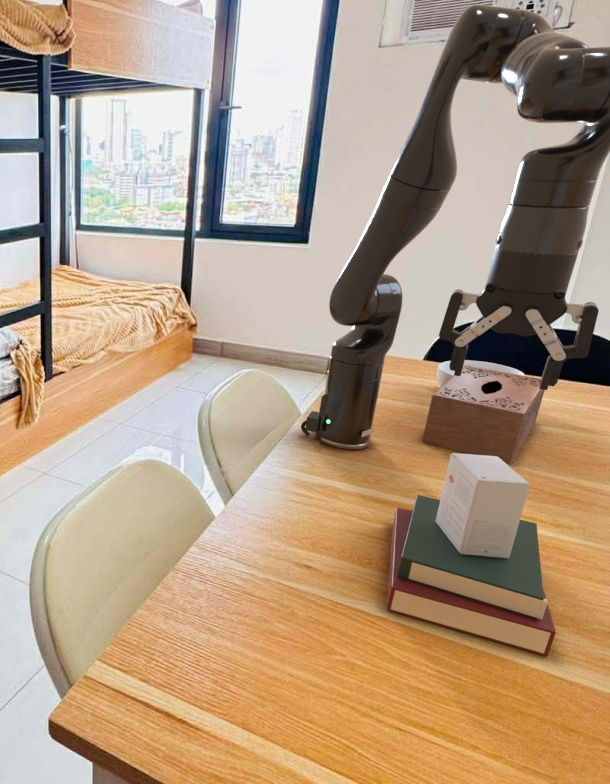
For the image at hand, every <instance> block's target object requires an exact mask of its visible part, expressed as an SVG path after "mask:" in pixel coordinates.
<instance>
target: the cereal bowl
mask: <svg viewBox="0 0 610 784" xmlns="http://www.w3.org/2000/svg"><path fill="white" fill-rule="evenodd" d="M450 362H451V360H447V361H443V362H441V363H439V364H438V367H437V370H436V379H437V383H438V384H439V387H440V388H441V387H442V386H443V385H444V384H445V383H446V382H447V381H449V380H450V379H451V378H452V377H453V376H454V373H455V371H452V370H450V367H449V366H450ZM465 365H466V366H471V367H477V368H483V369H488V370H494V371H500V372H505V373H511V374H517V375H522V376H526V374H525V373H524V372H523V371H521V370H519V369H517V368H514V367H511V366H508V365H507V366H506V365H503V364H498V363H495V362H488V361H480V360H471V359H470V360H469V359H465V361H464V365H463V367H464V366H465Z"/></svg>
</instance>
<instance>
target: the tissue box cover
mask: <svg viewBox="0 0 610 784" xmlns="http://www.w3.org/2000/svg"><path fill="white" fill-rule="evenodd" d="M540 381H541V378H538V377H533V376H527V375H525V376H522V375H517V374H511V373H505V372H500V371H494V370H488V369H483V368H477V367H471V366H466V365H465V366H464V367H463V369H462V373H461V376H455V375H454V376H453V377H452V378H451V379H450V380H449V381H447V382H446V383H445V384H444V385H443V386H442V387H441V386H440V387H439V388H438V389H437V390H436V391H435V392H434V393H433V394H432V395H431V400H430V405H429V409H428V413H427V418H426V422H425V426H424V431H423V435H422V440H421V443H426V444H428V445H429V444H430V445H433V446H437V447H440V448H444V449H449V450H452V451H457V452H460V453H463V454H472V455H486V456H497V457H499V458H500V459H501V460H502V461H504V462H505V463H506V464H507V465H511V464H512V463H513V461H514V459H515V458H516V456H517V454H518V453H519V451H520V449H521V448H522V446H523V444H524V443H525V441H526V440H527V438H528V436H529V435H530V433H531V431H532V430H533V428H534V426H535V424H536V421H537V418H538V415H539V412H540V407H541V404H542V401H543V397H544V394H545V391H546V390H542V389H539V385H540Z"/></svg>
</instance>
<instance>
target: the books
mask: <svg viewBox="0 0 610 784" xmlns="http://www.w3.org/2000/svg"><path fill="white" fill-rule="evenodd" d="M440 500H441V499H436V498H433V497H429V496H426V495H425V496H424V495H421V494H416V497H415V501H414V505H413V509H412V510H411V509H407V508H402V507H398V506H397V507H396V508H395V512H394V518H393V522H392V530H391V540H390V541H391V543H390V555H389V571H388V583H387V584H388V585H387V598H386V599H387V600H386V611H389V612H392V613H396V614H399V615H403V616H406V617H409V618H413V619H415V620H416V619H417V620H421V621H423V622H427V623H430V624H433V625H437V626H441V627H444V628H447V629H451V630H454V631H458V632H460V633H461V632H462V633H464V634H468V635H472V636H475V637H478V638H482V639H486V640H489V641H493V642H496V643H499V644H503V645H506V646H510V647H513V648H516V649H520V650H523V651H527V652H529V653H532V654H533V653H534V654H537V655H541V656H544V657H549V653H550V650H551V647H552V645H553V642H554V639H555V637H556V634H557V631H556V627H555V624H554V621H553V617H552V613H551V611H550V608H549V607H550V606H549V604H548V603H549V600H548V599H547V596H546V593H545V590H544V587H543V575H542V567H541V564H542V563H541V555H540V546H539V533H538V526H537V525H538V524H537V523H536V522H532V521H529V520H524V519H520V522H519V525H518V529H517V532H516V536H515V539H514V543H513V547H512V550H511V554H510V557H509V558H498V557H487V556H476V555H465V554H460V553H459V551H458V550H457V549H456V548H455V546H454V545H453V544H452V543H451V541H450V540H449V539H448V537H447V536H446V535H445V533H444V532H443V531H442V529H441V528H440V527H439V526H438V524H437V523H436V517H437V512H438V508H439V504H440Z"/></svg>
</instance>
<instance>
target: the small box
mask: <svg viewBox="0 0 610 784" xmlns="http://www.w3.org/2000/svg"><path fill="white" fill-rule="evenodd" d="M448 461H449V462H448V465H447V470H446V474H445V477H444V482H443V488H442V491H441V496H440V499H439V500H440V504H439V508H438V512H437V517H436V523H437V524H438V526H439V527H440V528H441V529H442V531H443V532H444V533H445V535H446V536H447V537H448V539H449V540H450V541H451V543H452V544H453V545H454V546H455V548H456V549H457V550H458V551H459V553H460V554H465V555H476V556H487V557H498V558H509V557H510V554H511V550H512V547H513V543H514V539H515V536H516V532H517V529H518V525H519V522H520V520H521V517H522V515H523V511H524V507H525V504H526V500H527V496H528V492H529V489H530V487H531V486H530V485H531V484H530V482H528V481H527V480H526V479H525V478H523V477H522V476H521V475H520V474H519V473H518V472H517V471H516V470H514V469H513V468H512V467H511V466H510V465H509V464H507V463H505V462H504V461H502V460H501V459H500V458H499V457H497V456H486V455H472V454H468V453H458V452H457V453H454V452H452V453H451V454H450V456H449V460H448Z"/></svg>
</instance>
